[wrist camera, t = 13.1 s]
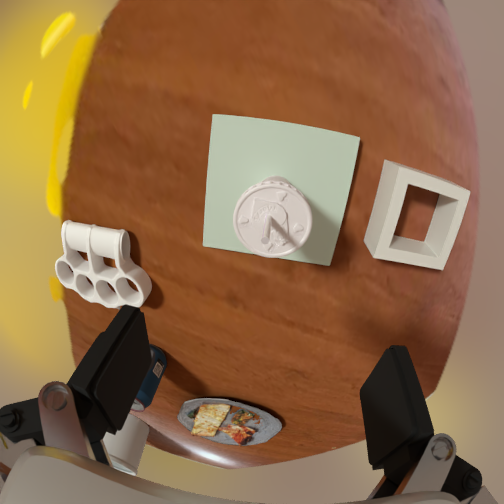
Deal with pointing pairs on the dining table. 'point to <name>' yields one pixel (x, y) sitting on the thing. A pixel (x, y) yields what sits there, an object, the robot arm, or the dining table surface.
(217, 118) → the serving mat
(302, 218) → the smoothie
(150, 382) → the soda can
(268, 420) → the food plate
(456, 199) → the drink caddy
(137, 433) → the utensil holder
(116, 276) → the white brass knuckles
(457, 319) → the dining table surface
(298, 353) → the dining table surface
